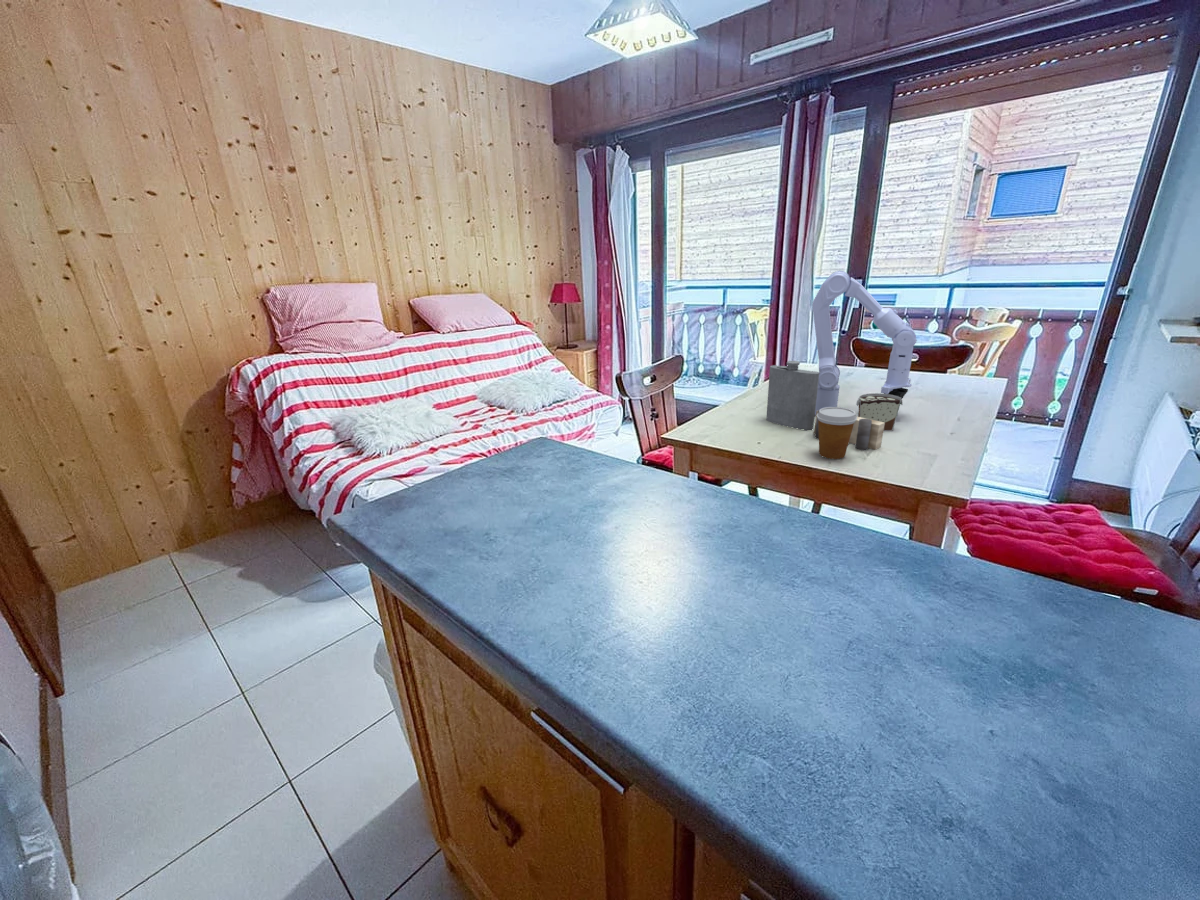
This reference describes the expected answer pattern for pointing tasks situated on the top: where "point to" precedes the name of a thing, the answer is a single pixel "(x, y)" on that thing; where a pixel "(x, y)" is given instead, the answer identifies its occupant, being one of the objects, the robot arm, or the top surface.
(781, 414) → the hip flask
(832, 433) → the disposable coffee cup
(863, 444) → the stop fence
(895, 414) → the food container
